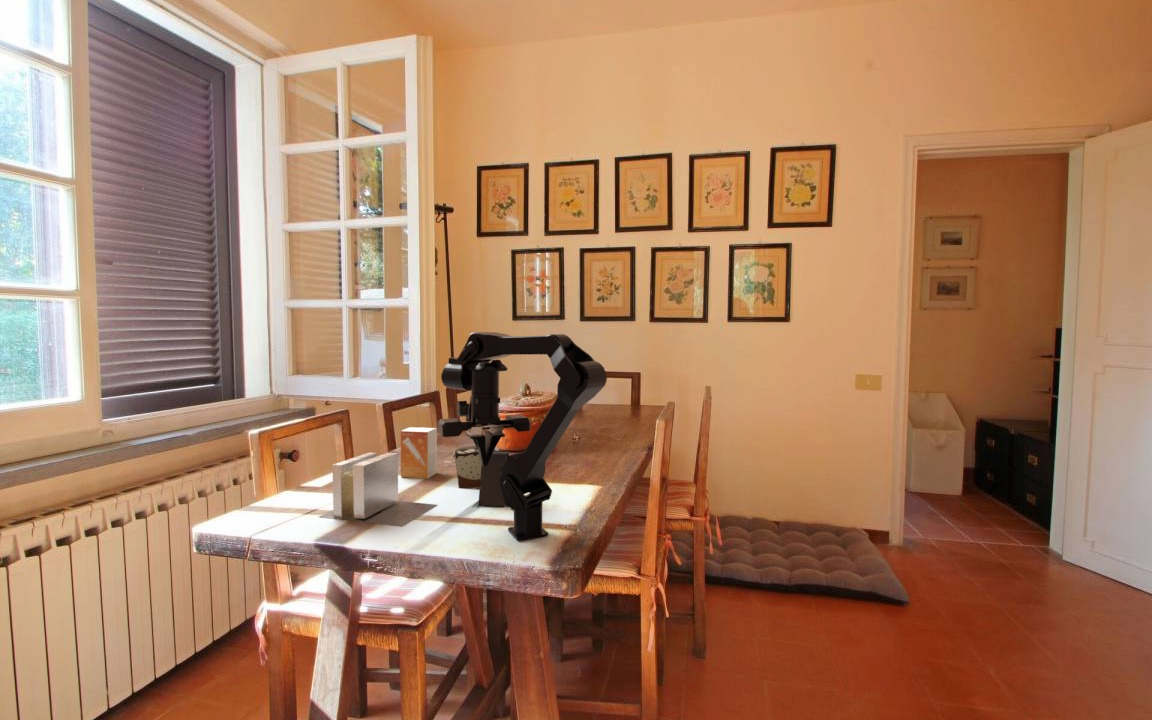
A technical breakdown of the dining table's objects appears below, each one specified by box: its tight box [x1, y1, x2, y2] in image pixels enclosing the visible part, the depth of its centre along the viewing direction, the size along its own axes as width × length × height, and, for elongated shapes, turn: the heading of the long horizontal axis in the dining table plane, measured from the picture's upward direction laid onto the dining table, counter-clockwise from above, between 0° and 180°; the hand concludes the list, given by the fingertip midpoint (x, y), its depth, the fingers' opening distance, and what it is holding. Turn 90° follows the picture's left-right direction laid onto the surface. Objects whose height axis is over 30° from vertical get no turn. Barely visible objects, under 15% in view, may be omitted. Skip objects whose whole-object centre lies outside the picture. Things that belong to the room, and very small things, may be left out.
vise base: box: [318, 452, 438, 528], centre depth 117 cm, size 20×14×12 cm
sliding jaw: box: [353, 452, 399, 519], centre depth 117 cm, size 2×12×11 cm, turn 165°
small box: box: [400, 426, 438, 479], centre depth 151 cm, size 8×6×13 cm
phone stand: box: [478, 450, 510, 508], centre depth 129 cm, size 9×6×12 cm, turn 175°
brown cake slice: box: [452, 444, 500, 490], centre depth 142 cm, size 12×6×10 cm, turn 108°
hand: (484, 465), depth 114 cm, fingers closed
